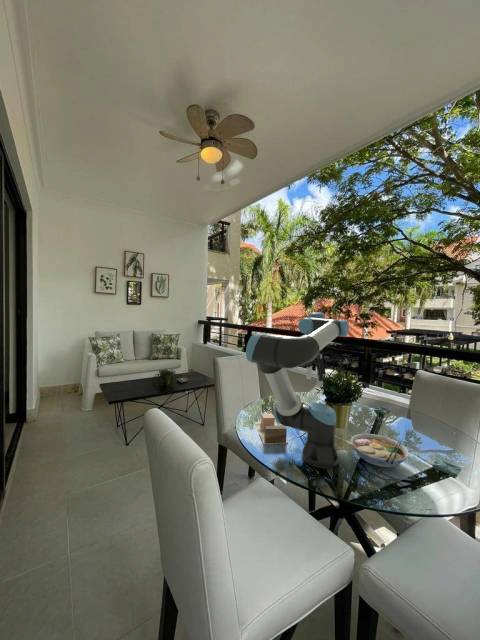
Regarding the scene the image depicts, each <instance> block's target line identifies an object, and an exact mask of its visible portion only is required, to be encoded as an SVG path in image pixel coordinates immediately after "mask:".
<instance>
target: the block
mask: <svg viewBox="0 0 480 640" xmlns="http://www.w3.org/2000/svg"><path fill="white" fill-rule="evenodd" d="M260 422H261V426H262V428H263V429H265V426H274V422H276V419H275V417H274V413H271V412H270V413H268V412H267V413H260Z"/></svg>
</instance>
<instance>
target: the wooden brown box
mask: <svg viewBox="0 0 480 640" xmlns="http://www.w3.org/2000/svg"><path fill="white" fill-rule="evenodd" d="M277 423H278V422H277V421H275V422H274V426H265V429H263V428H262V426H261V421H254V425H255V426H256V429H257V432H258V435H259V438H260V440H261V442H262V444H263V445H287V444H289V441H288V440H287V430H288V428H287V426H283V425H278V424H277Z"/></svg>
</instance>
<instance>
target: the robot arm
mask: <svg viewBox="0 0 480 640" xmlns="http://www.w3.org/2000/svg"><path fill="white" fill-rule="evenodd" d="M297 328H298V330H299V332H300V333H302V334H303V335H300V336H290V335H288V336H287V335H280V334H278V335H277V334H269V333H265V332H261V333H260V332H258V333H254V334H252V335H251V336H250V338H249V339H248V342H247V344H246V349H245V356H246V360H247V361H248V362H249V363H252V364H256V367H257V369H258V370H259V372H260V373H262V374H264V375H265V377H266V379H267V381H268V383H269V386H270V389H271V391H272V394H273V395H274V398H275V400H276V402H275V405H274V407H273V412H274V413H273V416H274V417H275V422H276V423H278V424H279V425H281V426H285V427H288V428H290V429H295V430H297V431H300V432H305V433H306V441H305V443H304V446H303V448H302V450H301V458H302V460H303V461H304V462H305V463H306V464H308V465H310V466H311V467H315V468H319V469H332V468H335V467H336V466H337V465H338V463H339V457H338V456H339V455H338V452H337V448H336V445H335V444H336V443H335V441H336V427H337V413H336V411H335V409H333V408H332V407H331V406H329V405H328V404H324V403H322V402H311V403H309V404H306V403H305V404H303V402H302V400H301V398H300V396H298V395H297V394H296V392H295V390H294V387H293V385H292V382H291V380H290V377H289V374H288V371H287V369H293V368H294V369H295V368H298V367H302V366H306V373H305V375H306V376H305V379H306V380H312V375H313V374H312V373H313V371H312V370H313V363H315V366H316V370H317V373H316V388H323V379H324V375H326V374H327V373H326V366H325V360H324V354H322V353H321V352H322V351H324V348H325V347H326V346H327V345H329V344H330V343H331V342H332V341H334V340H335V339H336V338H337V337H343V338H345V337H347V336H348V335H349V331H350V324H349V322H348V320H346V319H345V320H344V319H341V318H340V319H334V318H332V319H331V318H325V314H324V313H323V312H310V313H309V316H308V317H304V318H301V319H300V320H299V321H298V324H297Z"/></svg>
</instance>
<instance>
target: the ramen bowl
mask: <svg viewBox="0 0 480 640" xmlns="http://www.w3.org/2000/svg"><path fill="white" fill-rule="evenodd" d="M350 443H351V446H352V447H353V449H354V451H355V452H356V454H357V455H358V456H359V457H360V458H361V459H363V461H365V462H366V463H368V464H371V465H373V466H377V467H381V468H392V467H396V466H397V467H398V466H399V465H401V463H403V462H404V461H406V460H407V459H408V457H409V455H410V454H409V450H408V449H407V448H406V446H405V445H403V444H402V439H399V440H398V441H397V440H395V439H393V438H389V437H388V436H384V435H379V434H374V433H373V434H372V433H359V434H356V435H353V436H352V437H351V439H350Z"/></svg>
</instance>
